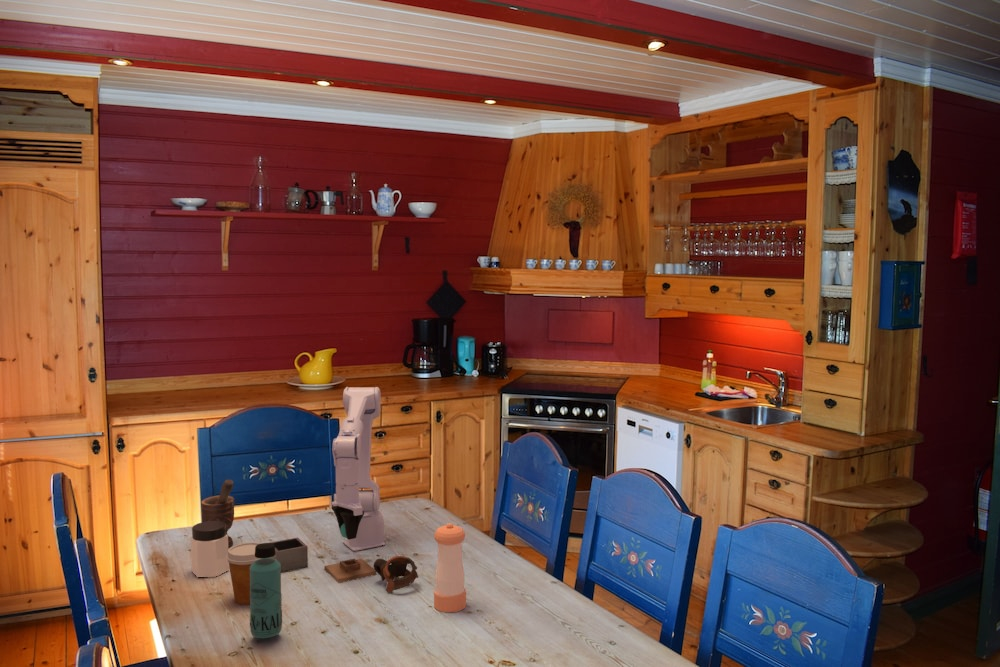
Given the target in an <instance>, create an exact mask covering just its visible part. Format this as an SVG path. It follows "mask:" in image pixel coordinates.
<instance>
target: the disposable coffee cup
mask: <svg viewBox="0 0 1000 667" xmlns="http://www.w3.org/2000/svg"><path fill="white" fill-rule="evenodd" d="M262 543H263V542H244V543H239V544H236V545H232V546H231V547H229V548H228V554H227V556H226V558H227V560H228V562H229V571H230V572H229V573H230V579H231V585H232V591H233V597H234V603H236V604H239V605H243V606H244V605H249V604H250V603H249V601H250V566H251V565H252V564H253V563H254V562H255V561H256V560H258V559H261V558H256V557H255V547H256V545H258V544H262Z"/></svg>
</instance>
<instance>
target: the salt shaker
mask: <svg viewBox="0 0 1000 667" xmlns="http://www.w3.org/2000/svg"><path fill="white" fill-rule="evenodd" d="M433 537H434V540H435V541H436V543H437V563H436V571H435V575H434V577H435V589H434V591H433V595H434V596H433V607H434V609H436V610H437V611H439V612H442V613H457V612H459V611H462V610H463V609H465V608H466V606H467V591H466V588H465V571H464V563H463V542H464V540H465V538H466V533H465V530H464V528H462V527H461V526H459V525H458V526H457V525H456V524H453V523H451V522H448V523H446V525H442V526H439V527H438V528H437V529H436V530H435V532H434V536H433Z"/></svg>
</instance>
